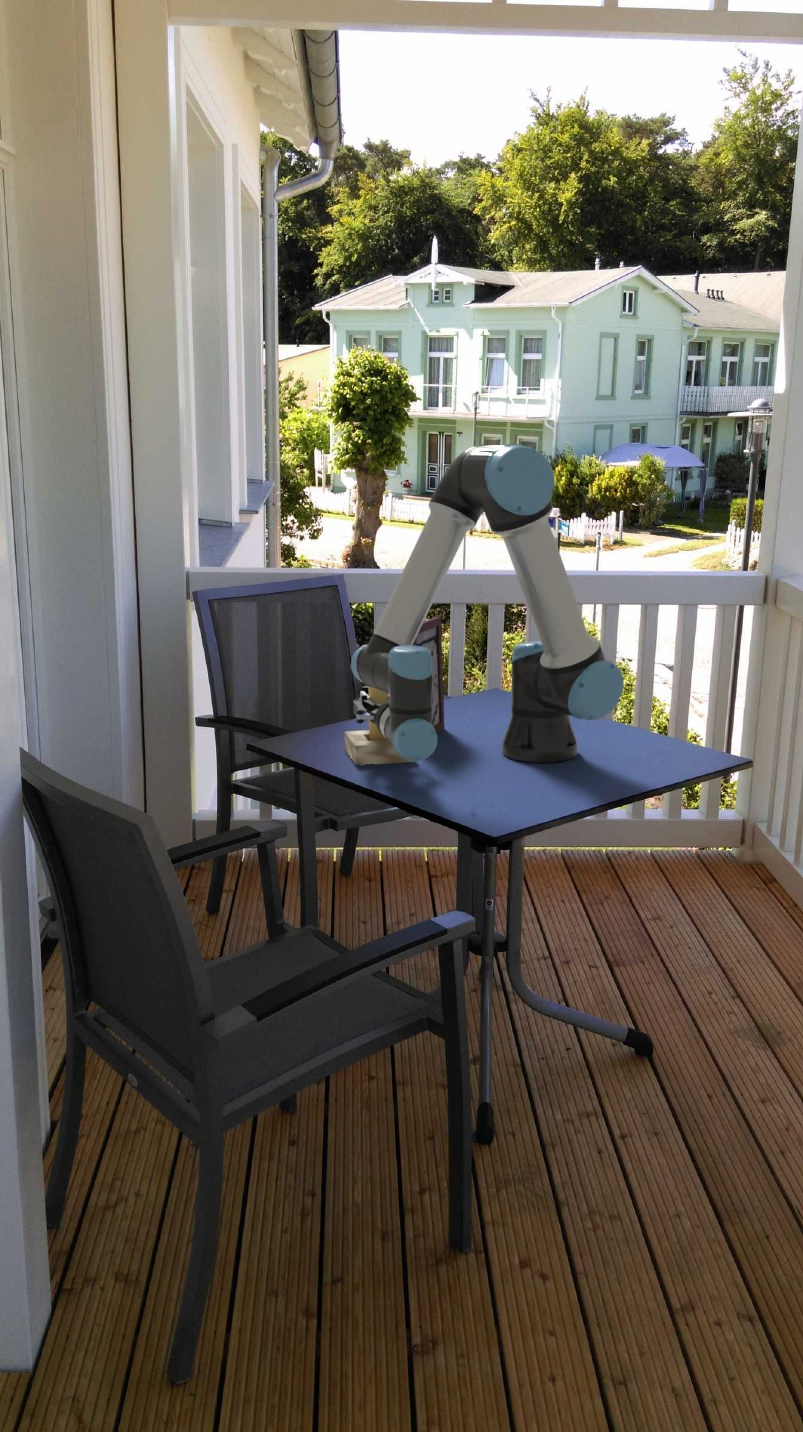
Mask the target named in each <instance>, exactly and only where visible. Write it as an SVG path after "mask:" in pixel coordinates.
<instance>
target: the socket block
mask: <svg viewBox="0 0 803 1432" xmlns="http://www.w3.org/2000/svg"><path fill="white" fill-rule="evenodd" d="M344 751H345V753H346V752H347V753H348V754H347V753H346V754H347V756H348V755H349V756H350V757H349V756H348V757H349V759H350V760H351V759H352V760H353V761H352V760H351V761H352V763H353V762H354V763H355V764H356V765H357V764H360V765H359V766H366V765H365V764H369V765H370V764H373V765H386V764H400V763H416V761H411V760H408V759H406V758H404V757H402V756H401V755H399V754H398V753H397V752H396V751H395V749H394V748H393V746H392V745H391V744H390V743H389V742H388V740H375V741H369V729H368V730H366V729H365V730H364V729H363V730H348V731H344ZM354 763H353V764H354ZM355 764H354V765H355ZM362 764H363V765H362ZM356 765H355V766H356ZM369 765H368V766H369Z"/></svg>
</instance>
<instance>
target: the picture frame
mask: <svg viewBox="0 0 803 1432" xmlns="http://www.w3.org/2000/svg"><path fill="white" fill-rule="evenodd" d="M442 636H443V635H442V617H441V616H434V617H432V618H430V619H427V620H426V619H425V620H424V622H423V624H422V626H421V628H420V630H419V632H418V634H417V636H416V638H415V641H414V643H413V646H422V647H426V648H428V649H429V650H430V652H431V660H432V668H433V673H432V726H433V727H434V728H435V731H436V734H437V735H438V734H439V733H441V732H442V731H443V730H445V728H446V727H445V705H444V704H445V701H444V700H445V699H444V697H445V695H444V674H443V671H444V669H443V668H444V666H443V643H442V642H443V640H442V639H443V637H442Z"/></svg>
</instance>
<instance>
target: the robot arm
mask: <svg viewBox="0 0 803 1432" xmlns="http://www.w3.org/2000/svg"><path fill="white" fill-rule="evenodd" d="M553 470H554V469H553V467H552V465H551V463H550V462H549V459H547V458H546V456H545V455H544V454H543V453H542V452H540V451H539V450H537V449H536V448H533V447H530V446H525V445H523V444H519V443H518V444H517V443H508V444H499V445H498V444H495V445H494V444H493V445H491V444H477V445H474V446H471V447H469V448H467V449H465V450H463V451H462V452H461V453H460V454H459V455H458V456H456V458H455V459H454V460H452V462H451V464H450V465H449V466H448V468H447V469H446V471H445V472H444V474H443V476H442V477H441V478H440V480H439V482H438V484H437V486H436V488H435V490H434V491H433V494H432V496H431V498H430V500H429V502H428V509H429V511H430V512H429V513H430V514H429V516H428V518H427V520H426V522H425V524H424V526H423V528H422V531H421V533H420V535H419V536H418V538H417V541H416V543H415V545H414V548H412V549H413V550H412V551H411V554H410V556H409V557H408V559H407V562H406V564H405V566H404V568H403V570H402V573H401V574H400V577H399V579H398V580H397V583H396V585H395V587H394V589H393V591H392V593H391V596H390V598H389V600H388V602H387V605H386V606H385V608H384V611H383V612H382V615H381V616H380V619H379V621H378V623H377V625H376V628H375V629H374V631H373V634H372V636H371V638H370V639H369V642H368V644H363V645H361V646H360V647H358V649H356V650H355V652H353V655H352V657H351V660H350V661H351V662H350V665H351V666H350V668H351V672H352V674H353V675H354V677H355V678H356V679H357V680H358V681H360V682H361V683H363V684H364V685H365V686H367V687H368V688H369V687H373V688H376V689H379V690H381V691H383V692H386V693H388V694H389V701H387V702H385V703H383V704H381V703H379V704H376V703H374V702H372V701H370V697H369V694H368V693H366V692H365V691H364V690H360V693H359V695H360V697H359V698H357V699H354V700H353V701H352V703H353V705H352V707H353V708H352V709H353V710H352V712H353V715H354V716H355V717H356V723H357V724H359V725H360V724H363V723H366V722H367V720H368V721H369V720H370V721H371V722H372V723H375V725H376V727H377V729H378V730H379V732H380V733H381V734H382V735H383V736H384V737H385V738H386V739H387V740H388V742H389V743H390V744H391V745H392V746H393V748H394V749H395V751H396V752H397V753H398V754H399V755H401V756H402V757H404V758H406V759H408V760H411V761H415V762H419V761H423V760H426V759H427V758H429V757H430V756H431V755H432V754H433V753H434V752H435V750H436V749H437V746H438V733H437V734H436V731H435V728H434V727H433V726H432V673H433V668H432V660H431V652H430V650H429V649H428V648H426V647H422V646H413V643H414V641H415V638H416V636H417V634H418V632H419V630H420V628H421V626H422V624H423V622H424V621H426V617H427V615H428V614H429V611H430V610H431V609H430V608H431V607H432V604H433V603H434V600H435V599H436V597H437V595H438V592H439V590H440V589H441V587H442V584H443V582H444V580H445V578H446V576H447V573H448V572H449V570H450V567H451V565H452V563H453V561H454V559H455V557H456V555H457V552H458V551H459V549H460V547H461V544H462V542H463V541H464V538H465V536H466V534H467V532H468V530H472V529H474V528H476V526H477V523H478V521H479V519H480V517H481V516H482V515H483V514H485V517H486V521H487V523H488V525H489V528H490V530H491V532H492V533H493V534H496V535H499V536H501V537H502V539H503V542H504V544H505V547H506V550H507V553H508V555H509V558H510V561H511V564H512V566H513V569H514V571H515V575H516V577H517V579H518V582H519V585H520V588H521V591H522V593H523V595H524V599H525V601H526V605H527V607H528V610H529V613H530V614H531V615H530V616H531V617H532V620H533V624H534V626H535V628H536V631H537V634H538V637H539V640H538V641H535V640H533V641H527V642H525V641H524V642H520V643H517V644H515V646H514V647H513V650H512V657H511V715H510V718H509V722H508V725H507V727H506V730H505V733H504V736H503V739H502V745H501V747H502V748H501V749H502V750H501V753H502V754H503V756H505V757H507V758H509V759H512V760H516V761H522V762H528V763H559V762H563V761H569V760H571V759H574V758H575V757H577V756H578V741H577V737H576V735H575V731H574V728H573V726H572V721H571V718H570V716H571V717H573V718H575V719H578V720H586V721H598V720H601V719H603V718H605V717H607V716H608V715H610V714H611V713H612V712H613V711H614V709H616V707H617V706H618V704H619V703H620V702H619V701H620V698H621V697H622V695H623V692H624V686H625V684H624V677H623V673H622V671H621V669H620V668H619V667H618V665H616V664H615V663H614V662H612V660H611V661H610V660H607V659H606V658H605V655H604V652H603V649H602V646H601V644H600V641H599V638H597V637H595V636H592V635H590V634H588V631H587V628H586V625H585V622H584V620H583V617H582V616H583V615H582V614H581V611H580V608H579V605H578V602H577V599H576V597H575V594H574V591H573V588H572V585H571V582H570V580H569V577H568V574H567V571H566V568H565V564H564V562H563V558H562V556H561V554H560V550H559V547H558V545H557V542H556V540H555V539H556V538H555V537H554V534H553V530H552V527H551V524H550V522H549V518H550V515H551V514H552V512H553V510H554V506H553V504H552V502H551V501H552V500H551V499H552V498H553V490H554V489H555V485H556V481H555V480H556V479H555V474H554V471H553Z"/></svg>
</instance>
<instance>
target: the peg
mask: <svg viewBox="0 0 803 1432" xmlns="http://www.w3.org/2000/svg"><path fill="white" fill-rule="evenodd" d="M368 696H369V697H370V701H372V702H374V703H376V704H379V703H381V704H383V703H385V702H387V701H389V694H388V693H386V692H383V691H381V690H379V689H376V688H373V687H369V686H368ZM368 730H369V741H375V740H387V739H386V738H385V737H384V736H383V735H382V734H381V733H380V732H379V730H378V729H377V727H376V725H375V723H372V722H371V721H370V720H368Z"/></svg>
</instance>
